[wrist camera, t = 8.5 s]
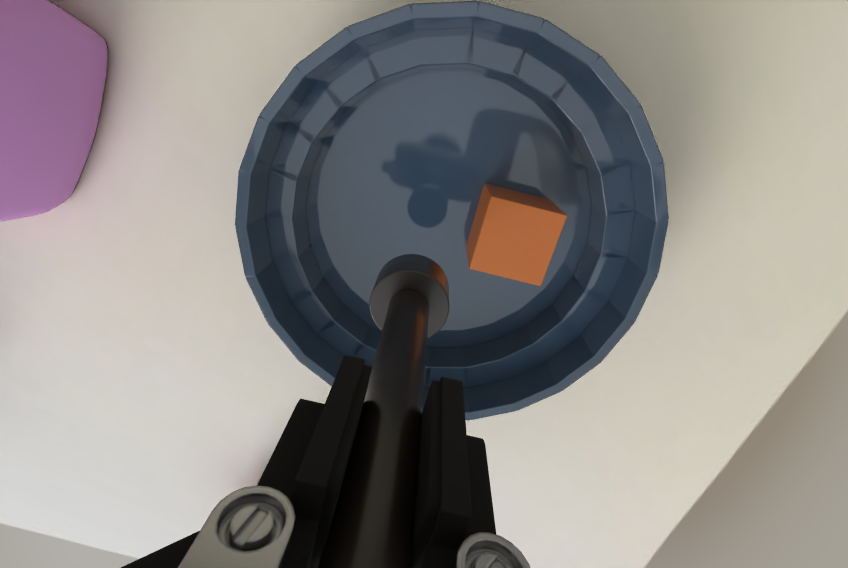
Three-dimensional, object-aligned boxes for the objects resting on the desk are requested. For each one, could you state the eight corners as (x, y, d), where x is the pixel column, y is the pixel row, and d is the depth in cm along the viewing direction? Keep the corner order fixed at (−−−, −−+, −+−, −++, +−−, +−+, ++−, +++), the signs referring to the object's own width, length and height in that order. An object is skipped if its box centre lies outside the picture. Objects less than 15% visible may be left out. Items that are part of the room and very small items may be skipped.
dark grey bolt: (456, 263, 18) (491, 635, 5) (438, 327, 20) (431, 755, 7) (384, 245, 18) (240, 587, 5) (370, 311, 19) (225, 719, 6)
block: (550, 199, 25) (568, 215, 21) (527, 261, 27) (541, 286, 23) (484, 182, 25) (490, 195, 21) (465, 246, 26) (468, 269, 23)
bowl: (687, 82, 23) (755, 76, 18) (550, 396, 31) (571, 453, 26) (298, -23, 22) (254, -62, 17) (261, 329, 30) (224, 374, 25)
